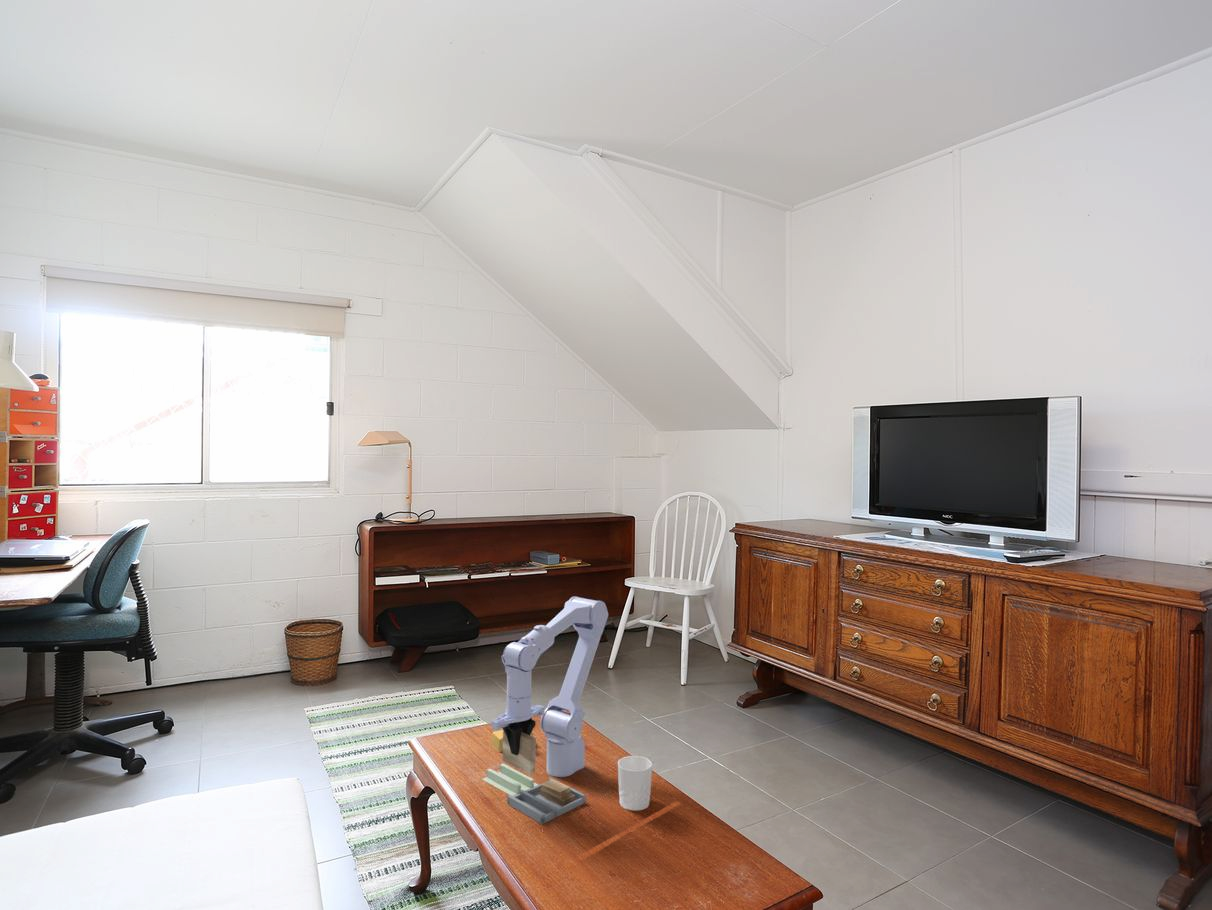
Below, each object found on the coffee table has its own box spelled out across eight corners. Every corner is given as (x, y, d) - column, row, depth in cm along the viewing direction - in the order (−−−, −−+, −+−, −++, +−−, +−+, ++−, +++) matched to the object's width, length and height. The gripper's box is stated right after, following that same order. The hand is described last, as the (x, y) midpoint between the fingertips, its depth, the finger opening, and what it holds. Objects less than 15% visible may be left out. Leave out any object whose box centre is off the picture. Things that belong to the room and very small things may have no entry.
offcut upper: (550, 785, 168) (551, 779, 168) (570, 792, 164) (570, 786, 164) (541, 790, 166) (541, 784, 166) (560, 798, 162) (560, 792, 162)
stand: (507, 771, 180) (507, 761, 180) (538, 788, 171) (538, 777, 171) (481, 782, 174) (481, 771, 174) (512, 799, 165) (512, 788, 165)
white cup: (656, 802, 165) (657, 759, 165) (644, 818, 158) (644, 773, 158) (625, 795, 168) (625, 753, 168) (611, 810, 161) (612, 766, 161)
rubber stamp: (499, 752, 191) (499, 708, 191) (491, 745, 196) (491, 701, 196) (533, 745, 196) (533, 701, 196) (524, 737, 201) (525, 695, 201)
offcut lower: (552, 789, 169) (552, 783, 169) (575, 801, 163) (575, 795, 163) (540, 794, 166) (540, 788, 166) (563, 807, 161) (563, 801, 161)
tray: (550, 788, 171) (550, 777, 171) (585, 806, 163) (585, 794, 163) (507, 807, 162) (507, 796, 162) (542, 827, 154) (542, 815, 154)
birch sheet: (507, 758, 171) (508, 725, 171) (535, 772, 164) (535, 738, 164) (502, 760, 170) (503, 727, 170) (530, 774, 163) (530, 740, 163)
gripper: (531, 683, 175) (530, 738, 175) (483, 697, 164) (482, 756, 164) (550, 690, 170) (549, 747, 170) (502, 705, 160) (501, 766, 160)
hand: (518, 752), depth 167 cm, fingers closed on birch sheet, 1 cm apart
